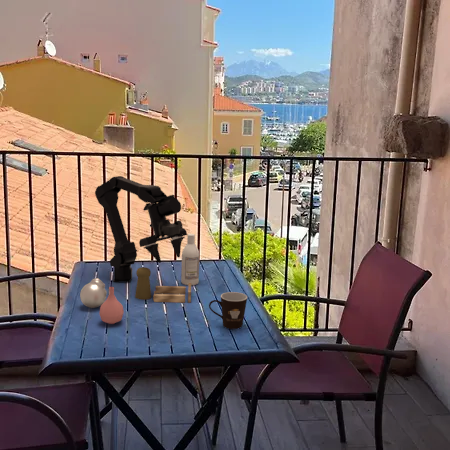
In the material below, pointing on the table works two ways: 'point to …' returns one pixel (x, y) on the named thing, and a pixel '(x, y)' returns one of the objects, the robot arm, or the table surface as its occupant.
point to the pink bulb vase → (111, 309)
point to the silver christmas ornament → (93, 293)
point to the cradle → (171, 294)
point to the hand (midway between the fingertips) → (169, 259)
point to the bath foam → (190, 262)
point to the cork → (143, 284)
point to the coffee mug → (232, 309)
